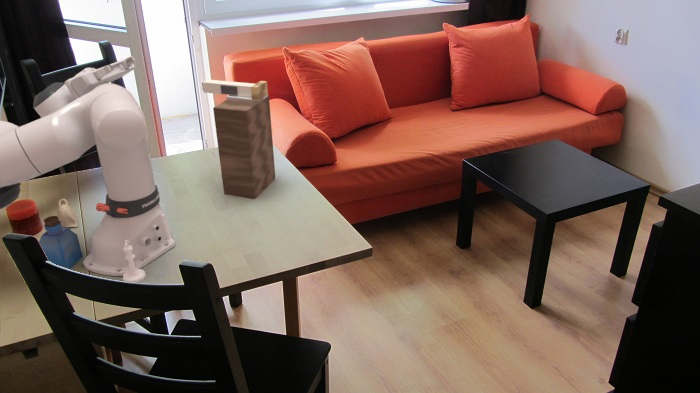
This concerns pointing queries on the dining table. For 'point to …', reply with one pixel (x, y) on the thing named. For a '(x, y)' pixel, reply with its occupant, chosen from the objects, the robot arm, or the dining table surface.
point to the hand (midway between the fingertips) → (121, 63)
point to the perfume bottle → (60, 243)
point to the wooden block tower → (245, 142)
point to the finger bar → (227, 88)
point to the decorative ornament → (67, 215)
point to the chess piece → (132, 266)
